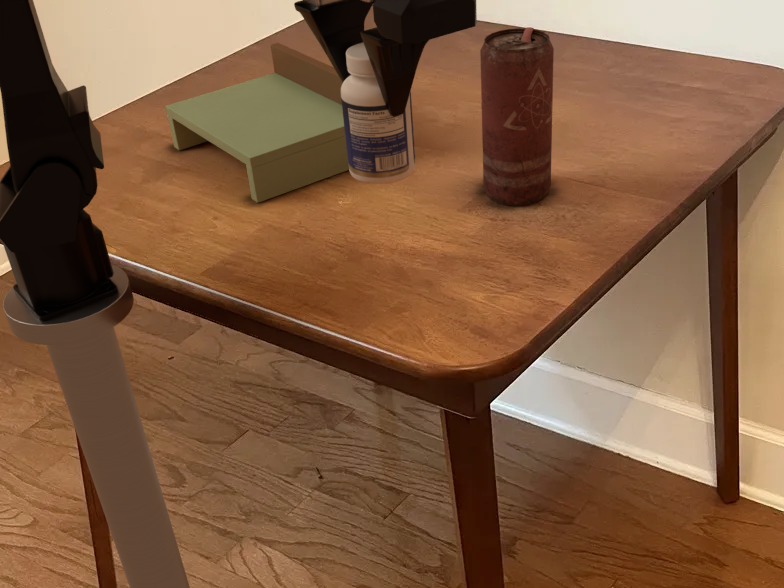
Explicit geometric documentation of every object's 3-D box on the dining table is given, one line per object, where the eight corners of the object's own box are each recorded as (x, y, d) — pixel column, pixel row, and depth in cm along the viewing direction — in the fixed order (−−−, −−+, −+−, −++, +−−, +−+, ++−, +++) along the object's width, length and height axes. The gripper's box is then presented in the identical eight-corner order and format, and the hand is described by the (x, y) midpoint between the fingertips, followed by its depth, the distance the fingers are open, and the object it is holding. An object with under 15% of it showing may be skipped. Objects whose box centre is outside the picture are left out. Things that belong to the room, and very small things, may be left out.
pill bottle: (365, 154, 85) (354, 35, 79) (425, 161, 84) (419, 39, 78) (337, 181, 81) (324, 58, 75) (400, 189, 80) (391, 63, 74)
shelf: (257, 203, 96) (244, 126, 91) (174, 147, 108) (158, 76, 103) (379, 158, 102) (373, 84, 97) (288, 110, 114) (278, 42, 109)
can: (557, 179, 96) (561, 25, 87) (542, 209, 91) (544, 51, 82) (494, 174, 97) (491, 23, 89) (476, 204, 93) (471, 48, 84)
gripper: (540, -123, 67) (535, 110, 76) (380, -153, 79) (394, 51, 89) (399, -92, 62) (413, 152, 72) (253, -129, 74) (282, 83, 84)
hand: (376, 104), depth 79 cm, fingers closed on pill bottle, 5 cm apart
